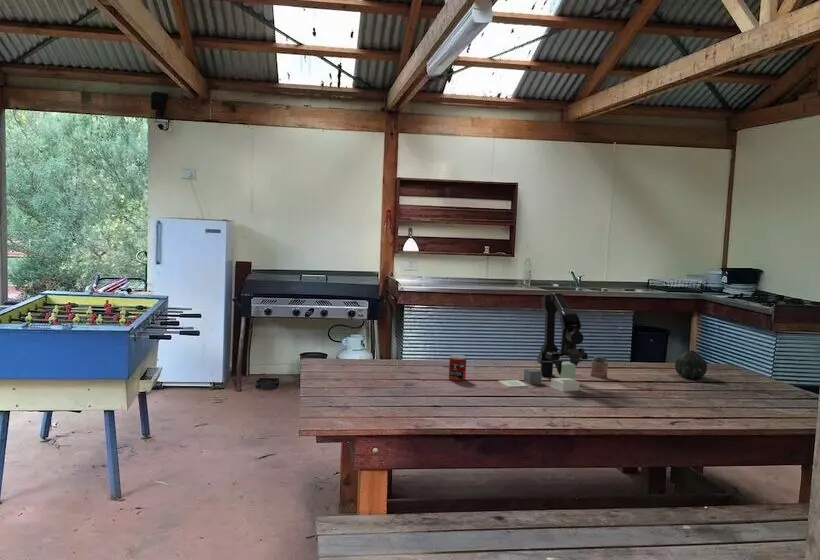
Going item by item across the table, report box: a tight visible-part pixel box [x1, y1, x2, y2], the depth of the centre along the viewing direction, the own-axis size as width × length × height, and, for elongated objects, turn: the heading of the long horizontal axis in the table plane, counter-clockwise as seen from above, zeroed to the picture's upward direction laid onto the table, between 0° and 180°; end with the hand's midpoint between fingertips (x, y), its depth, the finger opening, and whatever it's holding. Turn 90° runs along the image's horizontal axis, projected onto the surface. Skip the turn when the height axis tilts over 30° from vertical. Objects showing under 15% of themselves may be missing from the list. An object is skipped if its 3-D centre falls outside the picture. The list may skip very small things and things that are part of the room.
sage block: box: [555, 361, 577, 379], centre depth 291 cm, size 6×6×6 cm
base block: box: [550, 377, 580, 392], centre depth 291 cm, size 9×9×4 cm
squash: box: [674, 350, 708, 380], centre depth 325 cm, size 14×15×15 cm
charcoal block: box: [523, 368, 543, 385], centre depth 300 cm, size 6×6×6 cm
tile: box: [498, 379, 529, 388], centre depth 295 cm, size 10×10×1 cm
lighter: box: [590, 356, 609, 379], centre depth 317 cm, size 8×3×10 cm, turn 62°
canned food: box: [448, 354, 467, 382], centre depth 299 cm, size 8×8×11 cm
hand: (565, 374), depth 291 cm, fingers closed on sage block, 6 cm apart
